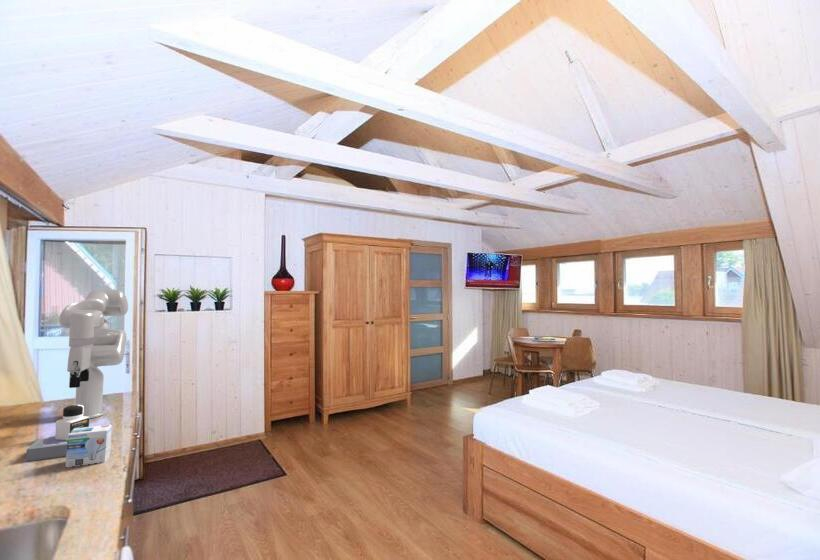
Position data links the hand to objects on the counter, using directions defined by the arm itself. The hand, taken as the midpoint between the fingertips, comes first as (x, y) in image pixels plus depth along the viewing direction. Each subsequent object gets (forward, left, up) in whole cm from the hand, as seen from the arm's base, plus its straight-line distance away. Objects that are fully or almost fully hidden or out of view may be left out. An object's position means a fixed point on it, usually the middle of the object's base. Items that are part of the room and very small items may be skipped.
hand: (79, 384), depth 155 cm
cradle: (+23, 0, -19) cm, 30 cm away
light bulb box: (+36, +11, -19) cm, 42 cm away
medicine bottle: (+7, 0, -19) cm, 20 cm away
